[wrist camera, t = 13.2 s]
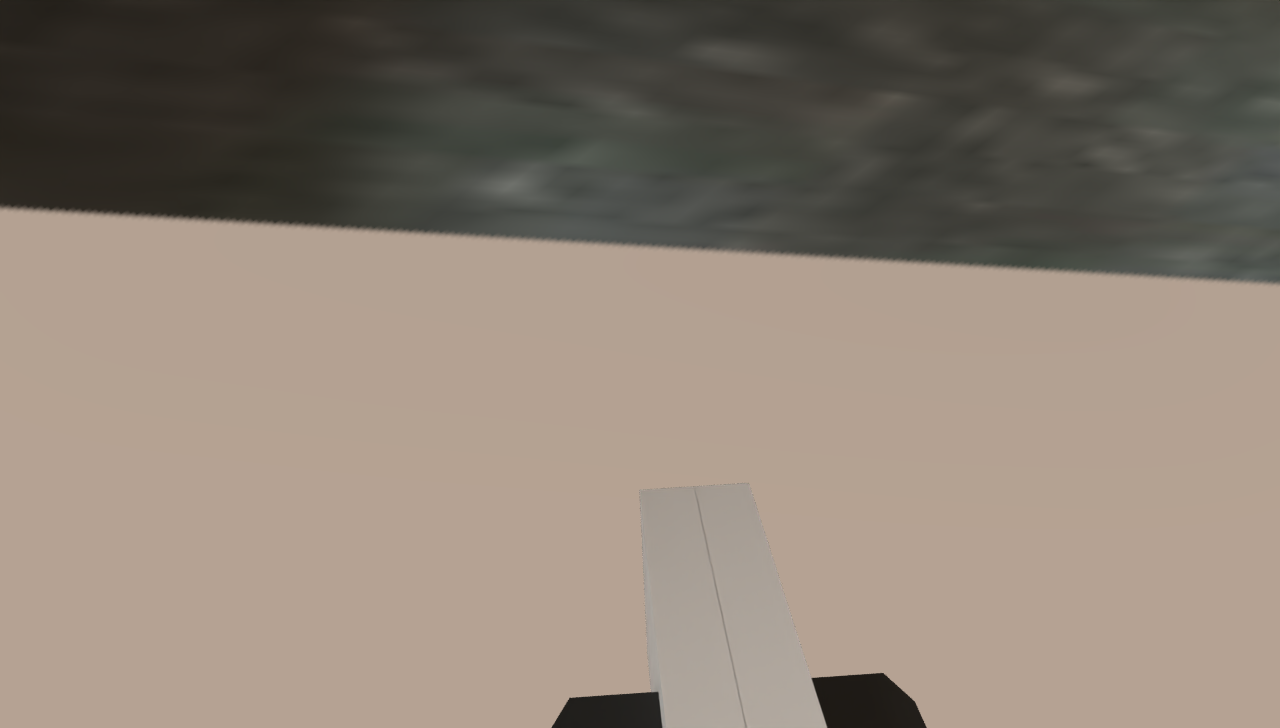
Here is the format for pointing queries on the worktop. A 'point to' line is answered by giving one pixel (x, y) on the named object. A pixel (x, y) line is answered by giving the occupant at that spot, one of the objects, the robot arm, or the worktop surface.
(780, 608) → the robot arm
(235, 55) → the worktop surface
